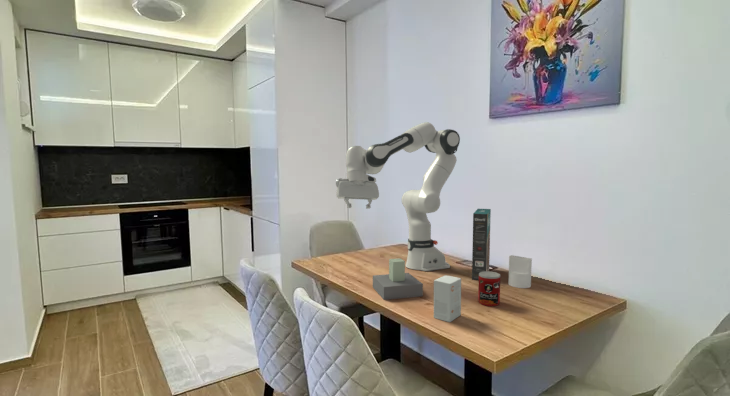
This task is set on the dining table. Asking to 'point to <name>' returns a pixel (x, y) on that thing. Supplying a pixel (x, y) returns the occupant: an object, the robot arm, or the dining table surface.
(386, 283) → the stand
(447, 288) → the small box
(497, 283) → the canned food
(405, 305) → the dining table surface
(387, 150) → the robot arm
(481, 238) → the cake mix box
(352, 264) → the dining table surface
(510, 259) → the base with upright slab
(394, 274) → the sage block
